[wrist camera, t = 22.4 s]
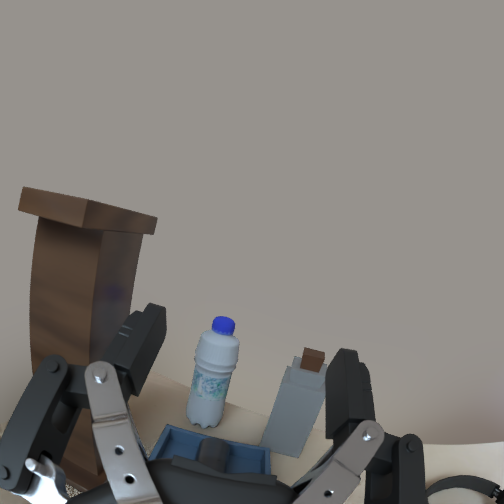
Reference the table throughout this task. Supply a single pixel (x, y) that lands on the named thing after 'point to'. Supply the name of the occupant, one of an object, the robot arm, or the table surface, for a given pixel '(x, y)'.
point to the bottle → (212, 373)
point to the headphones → (468, 486)
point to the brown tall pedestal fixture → (81, 296)
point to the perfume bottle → (296, 404)
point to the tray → (187, 442)
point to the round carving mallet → (213, 453)
